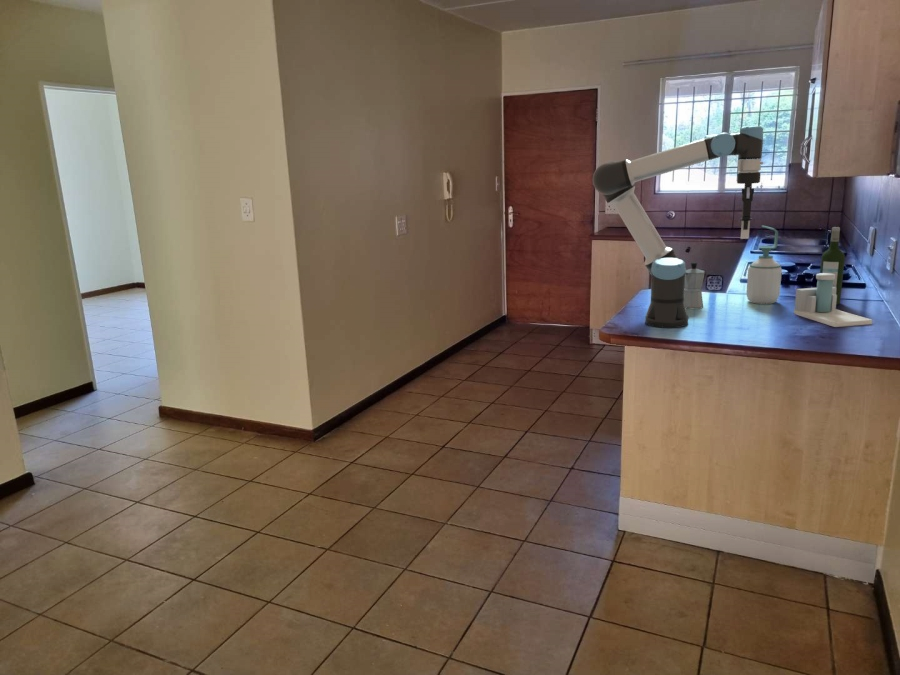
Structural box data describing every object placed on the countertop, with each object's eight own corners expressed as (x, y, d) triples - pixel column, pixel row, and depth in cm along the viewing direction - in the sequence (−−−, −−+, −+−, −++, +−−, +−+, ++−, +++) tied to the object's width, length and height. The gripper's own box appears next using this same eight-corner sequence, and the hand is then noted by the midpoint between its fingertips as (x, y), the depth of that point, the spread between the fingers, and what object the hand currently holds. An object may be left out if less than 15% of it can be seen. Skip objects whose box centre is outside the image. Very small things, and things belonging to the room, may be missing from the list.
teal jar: (835, 312, 237) (839, 275, 233) (820, 313, 236) (823, 276, 233) (824, 308, 242) (827, 272, 239) (809, 309, 242) (812, 273, 238)
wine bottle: (838, 301, 261) (846, 226, 253) (841, 305, 254) (849, 228, 246) (816, 300, 264) (823, 226, 256) (817, 304, 257) (825, 228, 250)
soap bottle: (744, 298, 274) (749, 224, 266) (776, 299, 270) (782, 223, 262) (747, 304, 263) (752, 227, 255) (781, 305, 259) (787, 226, 251)
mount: (871, 323, 225) (875, 297, 223) (834, 327, 223) (837, 300, 221) (828, 311, 246) (830, 286, 244) (793, 313, 245) (796, 288, 242)
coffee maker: (693, 310, 258) (695, 265, 253) (673, 307, 264) (675, 263, 260) (713, 304, 267) (715, 260, 262) (693, 301, 273) (695, 259, 269)
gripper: (761, 171, 223) (756, 240, 229) (759, 171, 235) (755, 236, 241) (737, 172, 226) (733, 240, 232) (737, 171, 238) (733, 236, 244)
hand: (744, 238), depth 236 cm, fingers closed
